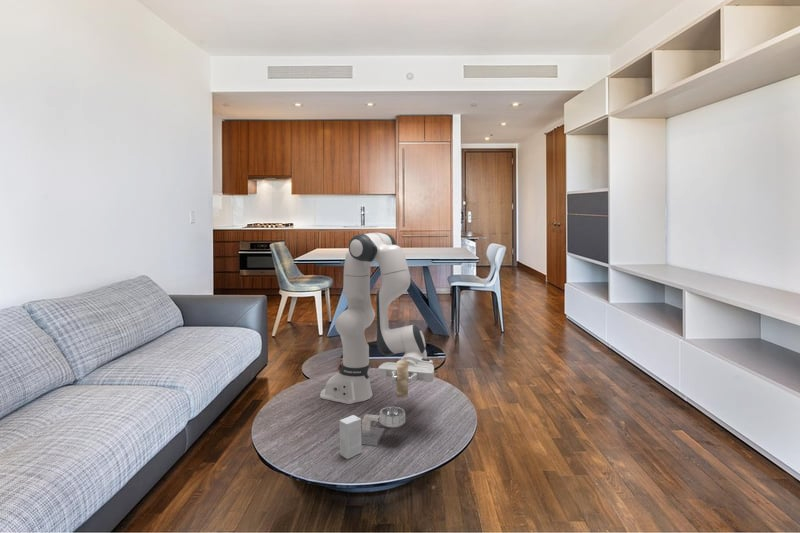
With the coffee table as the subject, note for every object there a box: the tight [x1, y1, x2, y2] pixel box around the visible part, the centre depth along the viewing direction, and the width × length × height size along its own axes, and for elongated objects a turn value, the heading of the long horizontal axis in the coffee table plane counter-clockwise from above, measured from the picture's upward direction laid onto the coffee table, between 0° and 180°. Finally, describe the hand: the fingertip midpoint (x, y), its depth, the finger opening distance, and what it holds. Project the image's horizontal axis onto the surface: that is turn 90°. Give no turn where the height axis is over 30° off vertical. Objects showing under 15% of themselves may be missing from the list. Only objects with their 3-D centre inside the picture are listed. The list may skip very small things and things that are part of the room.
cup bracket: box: [361, 405, 406, 447], centre depth 161 cm, size 18×10×10 cm, turn 76°
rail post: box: [395, 359, 409, 399], centre depth 160 cm, size 4×4×12 cm
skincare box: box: [338, 414, 363, 460], centre depth 151 cm, size 6×4×12 cm
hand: (401, 379), depth 159 cm, fingers closed on rail post, 4 cm apart
